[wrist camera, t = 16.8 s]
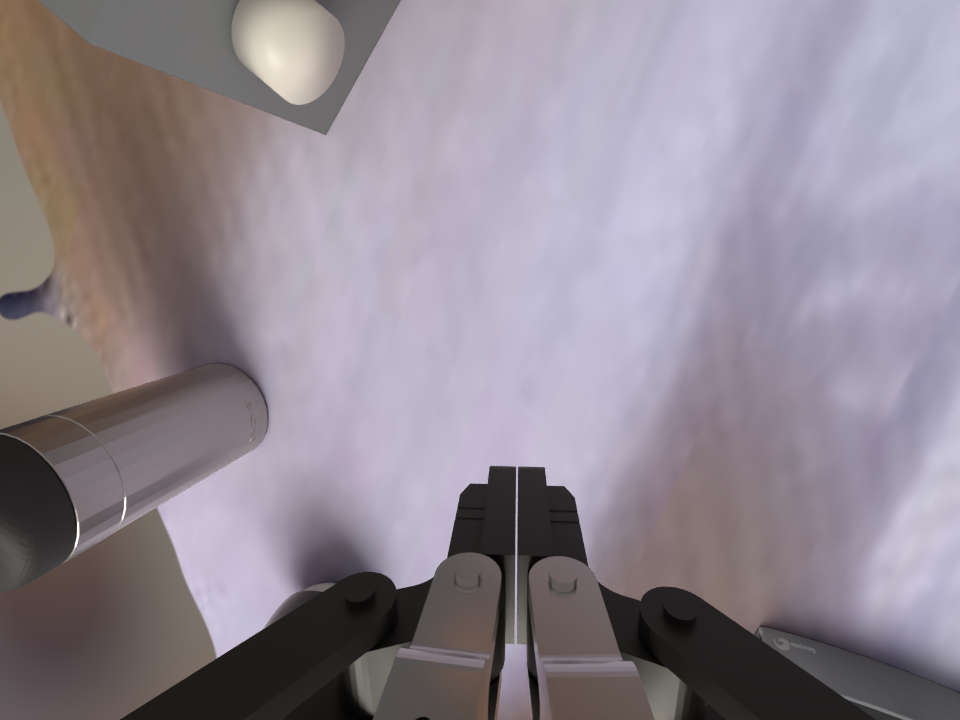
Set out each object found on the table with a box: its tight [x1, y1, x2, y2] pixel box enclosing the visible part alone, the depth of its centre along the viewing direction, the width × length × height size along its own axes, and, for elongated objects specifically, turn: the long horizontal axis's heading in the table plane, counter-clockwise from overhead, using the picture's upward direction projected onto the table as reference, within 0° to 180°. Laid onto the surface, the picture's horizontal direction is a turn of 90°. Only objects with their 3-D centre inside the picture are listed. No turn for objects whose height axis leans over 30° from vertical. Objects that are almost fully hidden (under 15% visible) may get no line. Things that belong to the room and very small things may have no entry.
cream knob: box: [231, 0, 345, 105], centre depth 26 cm, size 10×5×5 cm, turn 52°
